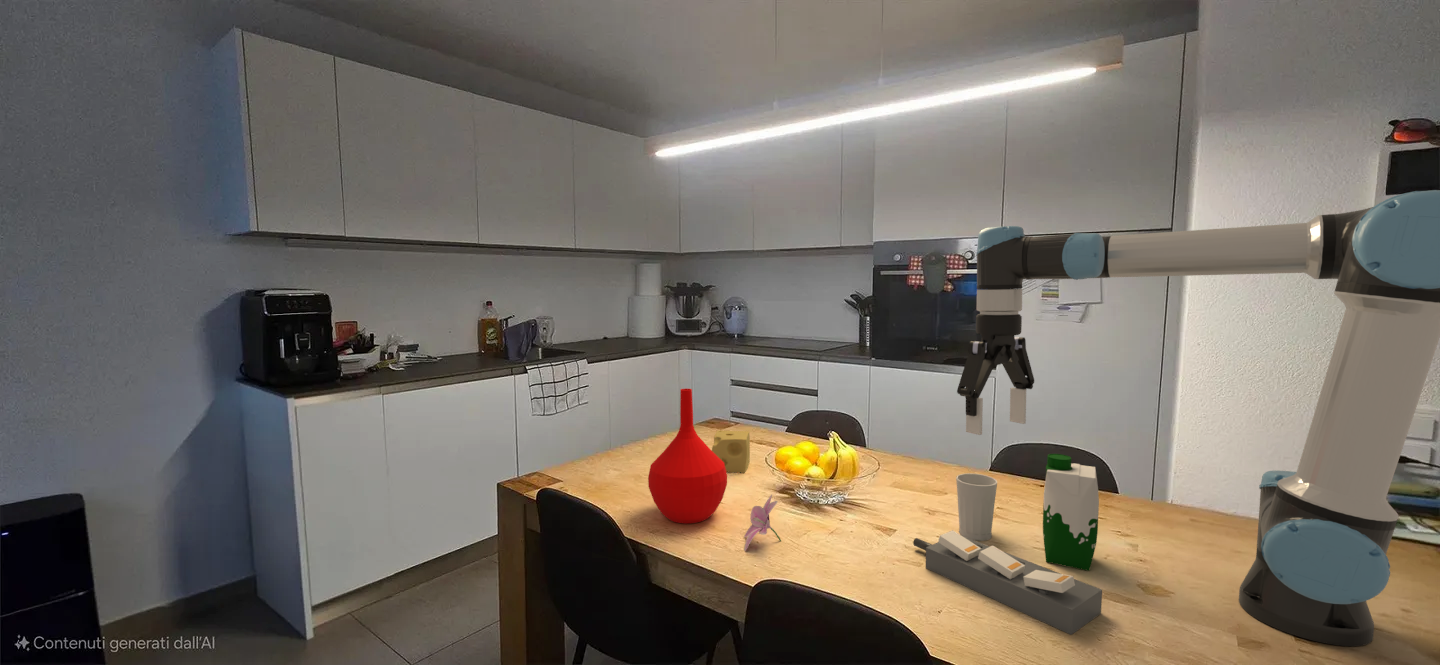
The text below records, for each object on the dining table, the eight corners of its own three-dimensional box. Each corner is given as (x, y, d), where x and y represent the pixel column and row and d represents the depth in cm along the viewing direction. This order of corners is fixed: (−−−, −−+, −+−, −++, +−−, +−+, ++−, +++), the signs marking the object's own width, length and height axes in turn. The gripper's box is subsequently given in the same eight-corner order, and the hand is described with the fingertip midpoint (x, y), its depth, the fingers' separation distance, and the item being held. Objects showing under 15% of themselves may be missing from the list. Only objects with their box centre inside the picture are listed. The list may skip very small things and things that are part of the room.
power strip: (1101, 613, 95) (1102, 586, 95) (1071, 634, 90) (1072, 606, 89) (931, 542, 122) (931, 521, 121) (899, 555, 116) (899, 533, 116)
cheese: (711, 472, 168) (710, 438, 167) (717, 461, 179) (716, 428, 178) (747, 474, 167) (746, 439, 166) (751, 462, 177) (751, 429, 176)
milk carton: (1043, 545, 120) (1046, 449, 118) (1095, 555, 115) (1100, 455, 113) (1040, 563, 112) (1043, 460, 111) (1096, 575, 108) (1101, 468, 106)
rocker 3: (1075, 585, 94) (1073, 575, 94) (1062, 592, 91) (1060, 583, 91) (1037, 578, 99) (1035, 569, 99) (1024, 585, 96) (1023, 576, 96)
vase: (681, 539, 125) (678, 401, 122) (633, 514, 138) (630, 389, 136) (744, 516, 137) (742, 389, 134) (694, 495, 150) (692, 380, 148)
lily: (757, 530, 131) (736, 496, 129) (804, 518, 126) (783, 483, 124) (744, 570, 121) (721, 534, 119) (794, 558, 116) (771, 521, 114)
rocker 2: (1023, 572, 101) (1025, 565, 100) (1010, 579, 98) (1012, 572, 98) (990, 552, 105) (992, 545, 105) (978, 558, 103) (979, 551, 103)
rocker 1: (979, 554, 107) (981, 547, 107) (966, 561, 105) (968, 554, 104) (951, 536, 112) (952, 529, 111) (938, 542, 110) (939, 535, 109)
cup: (1000, 543, 121) (1001, 486, 120) (958, 540, 122) (960, 484, 121) (990, 527, 128) (992, 474, 127) (951, 525, 130) (953, 472, 129)
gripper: (1018, 309, 117) (1015, 414, 119) (936, 315, 104) (935, 433, 105) (1056, 310, 111) (1053, 421, 112) (975, 316, 97) (973, 442, 99)
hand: (996, 427), depth 109 cm, fingers open, 13 cm apart
